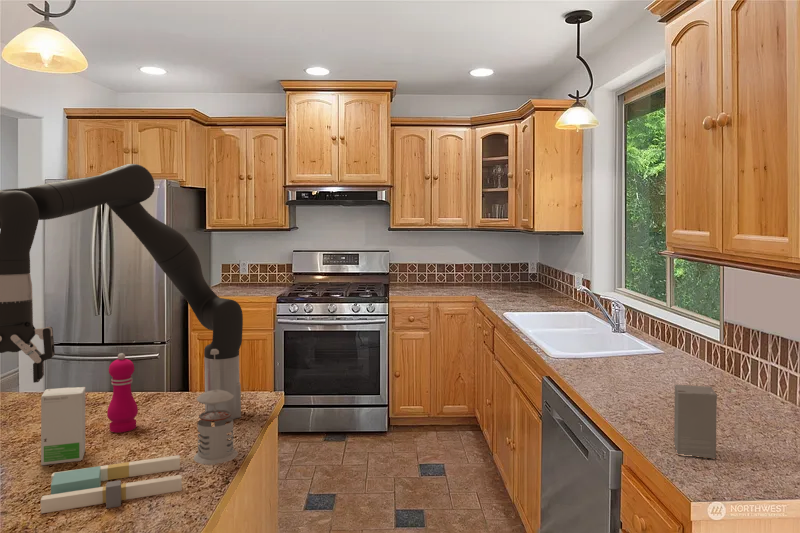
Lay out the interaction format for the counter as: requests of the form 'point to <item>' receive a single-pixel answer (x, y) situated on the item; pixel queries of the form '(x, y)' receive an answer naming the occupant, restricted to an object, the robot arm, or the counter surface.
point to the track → (119, 485)
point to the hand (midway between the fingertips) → (10, 383)
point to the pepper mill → (122, 396)
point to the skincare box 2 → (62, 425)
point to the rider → (76, 480)
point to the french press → (215, 428)
